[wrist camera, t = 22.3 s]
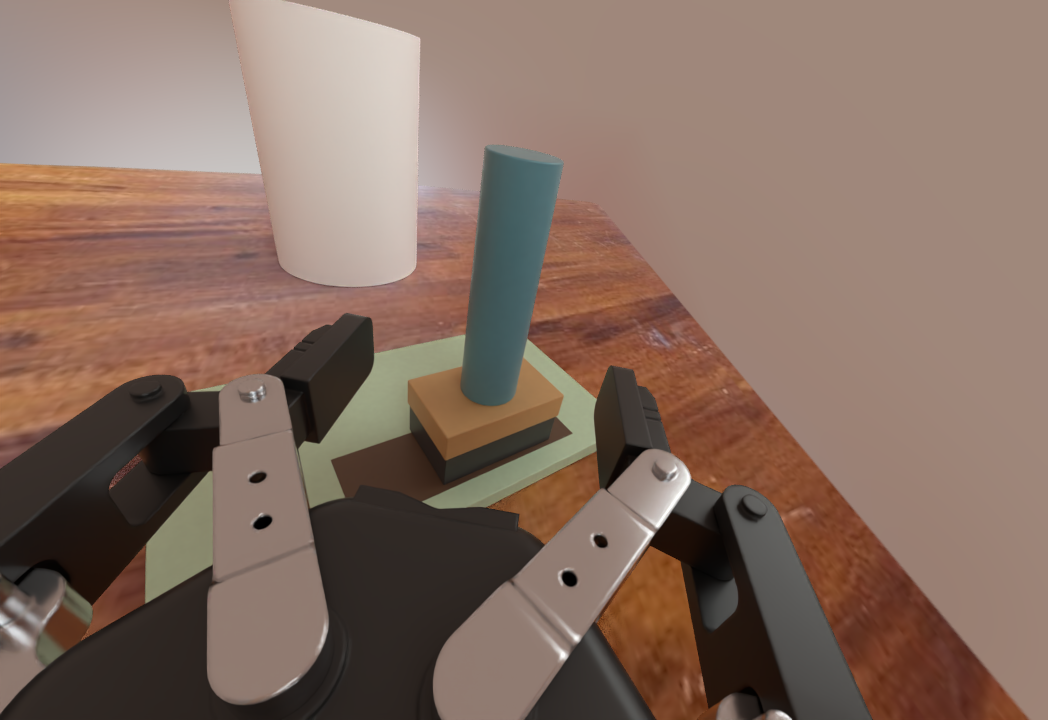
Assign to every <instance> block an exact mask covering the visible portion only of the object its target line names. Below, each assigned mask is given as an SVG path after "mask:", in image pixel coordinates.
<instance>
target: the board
mask: <svg viewBox="0 0 1048 720" xmlns="http://www.w3.org/2000/svg"><path fill="white" fill-rule="evenodd" d="M465 335H466V334H465ZM465 335H460V336H455V337H451V338H446V339H441V340H436V341H431V342H427V343H422V344H417V345H412V346H407V347H403V348H398V349H393V350H388V351H383V352H378V353H374V364H373V368H372V370H371V373H370V374H369V376H368V377H367V379H366V380H365V381H364V383H363V384H362V386H361V387H360V388H359V390H358V391H357V393H356V394H355V395H354V397H353V398H352V400H351V401H350V402H349V404H348V405H347V406H346V408H345V409H344V411H343V412H342V413H341V415H340V416H339V418H338V419H337V420H336V422H335V423H334V425H333V426H332V427H331V429H330V430H329V431H328V433H327V434H326V436H325V437H324V438H323V440H322V441H321V443H320V444H316V443H311V442H306V441H304V442H303V443H302V445H301V446H300V447H299V449H298V450H299V455H300V459H301V464H302V469H303V474H304V479H305V484H306V489H307V493H308V498H309V503H310V508H312V507H314V506H316V505H319V504H322V503H325V502H327V501H331V500H335V499H340V498H346V497H354V496H355V494H356V492H357V490H358V488H359V486H360V485H366V486H371V487H377V488H382V489H388V490H393V491H398V492H401V493H404V494H406V495H408V496H410V497H412V498H414V499H417V500H419V501H421V502H423V503H425V504H428V505H430V506H432V507H434V508H438V509H445V508H466V507H484V508H486V507H488V506H490V505H492V504H494V503H496V502H497V501H499V500H501V499H503V498H505V497H507V496H509V495H511V494H513V493H515V492H517V491H519V490H521V489H523V488H525V487H527V486H529V485H531V484H533V483H535V482H537V481H539V480H541V479H543V478H545V477H546V476H548V475H550V474H552V473H554V472H556V471H558V470H560V469H562V468H564V467H566V466H568V465H570V464H572V463H574V462H576V461H578V460H580V459H582V458H584V457H586V456H588V455H590V454H592V453H594V452H595V451H597V450H596V438H595V427H594V409H595V404H596V400H597V399H596V398H594V397H593V396H592V395H591V394H590V393H589V392H588V391H586V390H585V389H584V388H583V387H582V386H581V385H580V384H578V383H577V382H576V381H575V380H574V379H573V378H572V377H570V376H569V375H568V374H567V373H566V372H565V371H564V370H562V369H561V368H560V367H559V366H558V365H557V364H556V363H554V362H553V361H552V360H551V359H550V358H549V357H547V356H546V355H545V354H544V353H543V352H542V351H541V350H539V349H538V348H537V347H536V346H535V345H534V344H533V343H531V342H530V341H529V340H528V339H527V341H526V346H525V350H524V355H523V357H524V358H525V359H526V360H527V361H528V362H529V363H530V364H531V365H532V366H533V367H534V368H535V369H536V370H538V371H539V372H540V373H541V374H542V375H543V376H544V377H545V378H546V379H547V380H548V381H549V382H550V383H551V384H553V385H554V386H555V387H556V388H557V389H558V390H559V391H560V392H561V393H562V394H563V395H564V398H563V401H562V404H561V407H560V411H559V414H558V416H556V417H555V420H554V423H553V427H552V430H551V433H550V437H549V439H548V440H546V441H544V442H541V443H539V444H537V445H535V446H532V447H530V448H528V449H526V450H523V451H521V452H519V453H516V454H514V455H512V456H510V457H507V458H505V459H503V460H500V461H498V462H496V463H494V464H491V465H489V466H487V467H484V468H482V469H480V470H478V471H475V472H473V473H471V474H468V475H466V476H464V477H462V478H459V479H457V480H455V481H452V482H450V483H448V484H446V485H443V483H442V481H441V480H440V478H439V477H438V475H437V473H436V472H435V470H434V468H433V467H432V465H431V463H430V462H429V460H428V458H427V457H426V455H425V454H424V452H423V450H422V449H421V447H420V445H419V444H418V442H417V440H416V439H415V437H414V435H413V434H412V432H411V431H410V405H409V404H408V380H411V379H414V378H418V377H422V376H426V375H430V374H434V373H438V372H442V371H446V370H450V369H453V368H457V367H461V366H462V364H463V354H464V345H465ZM225 385H226V384H225ZM225 385H220V386H215V387H210V388H205V389H200V390H196V391H191V392H202V391H221V390H222V388H223V387H224V386H225ZM212 564H213V471H209V472H208V473H207V475H206V476H205V477H204V478H203V479H202V480H201V481H200V483H199V484H198V485H197V486H196V487H195V488H194V489H193V491H192V492H191V493H190V494H189V495H188V496H187V497H186V499H185V500H184V501H183V502H182V503H181V504H180V505H179V507H178V508H177V509H176V510H175V511H174V512H173V514H172V515H171V516H170V517H169V518H168V519H167V520H166V522H165V523H164V524H163V525H162V526H161V527H160V528H159V530H158V531H157V532H156V533H155V534H154V535H153V536H152V538H151V539H150V540H149V541H148V542H147V543H146V568H145V604H146V603H147V602H149V601H151V600H152V599H154V598H156V597H158V596H159V595H161V594H163V593H164V592H166V591H168V590H170V589H171V588H173V587H175V586H176V585H178V584H180V583H182V582H183V581H185V580H187V579H188V578H190V577H192V576H194V575H195V574H197V573H199V572H200V571H202V570H204V569H206V568H207V567H209V566H211V565H212Z"/></svg>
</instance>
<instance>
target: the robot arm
mask: <svg viewBox="0 0 1048 720" xmlns="http://www.w3.org/2000/svg"><path fill="white" fill-rule="evenodd" d="M373 364H374V342H373V325H372V320H371V318H369V317H364V316H359V315H354V314H349V313H345V314H344V315H343V316H342V317H341V318H340V319H339V320H337V321H336V322H335V323H334V324H333V325H325V326H323V327H320V328H318V329H316V330H313V331H312V332H311V333H309V334H308V335H307V336H306V337H305V338H304V339H303V340H302V342H299V343H298V344H297V345H296V346H295V347H294V350H291V351H290V352H288V353H287V354H286V355H285V356H284V357H283V358H282V359H281V360H280V361H278V362H277V363H276V364H275V365H274V366H273V367H272V368H271V369H270V370H269V371H267V372H266V373H265V374H253V375H247V376H243V377H240V378H237V379H235V380H233V381H231V382H229V383H228V384H226V385H225V386H224V387H223V388H222V390H221V391H202V392H187V390H186V388H185V385H184V383H183V381H182V380H181V379H179V378H178V377H175V376H171V375H152V376H146V377H141V378H138V379H134V380H132V381H129V382H127V383H125V384H123V385H121V386H119V387H118V388H116V389H115V390H113V391H112V392H110V393H109V394H107V395H106V396H104V397H103V398H102V399H100V400H99V401H97V402H96V403H94V404H93V405H92V406H90V407H89V408H87V409H86V410H84V411H83V412H81V413H80V414H79V415H77V416H76V417H74V418H73V419H71V420H70V421H69V422H67V423H66V424H64V425H63V426H61V427H60V428H58V429H57V430H56V431H54V432H53V433H51V434H50V435H48V436H47V437H45V438H44V439H43V440H41V441H40V442H38V443H37V444H35V445H34V446H33V447H31V448H30V449H28V450H27V451H25V452H24V453H22V454H21V455H20V456H18V457H17V458H15V459H14V460H12V461H11V462H10V463H8V464H7V465H5V466H4V467H2V468H1V469H0V720H656V719H655V717H654V715H653V714H652V712H651V710H650V709H649V707H648V706H647V704H646V702H645V701H644V699H643V698H642V696H641V694H640V693H639V691H638V690H637V688H636V686H635V685H634V683H633V681H632V680H631V678H630V677H629V675H628V673H627V672H626V670H625V669H624V667H623V665H622V664H621V662H620V660H619V659H618V657H617V656H616V654H615V652H614V651H613V649H612V648H611V646H610V644H609V643H608V641H607V640H606V638H605V636H604V635H603V633H602V631H601V630H600V628H599V627H598V625H597V623H598V621H599V620H600V618H601V617H602V615H603V614H604V612H605V611H606V609H607V608H608V606H609V605H610V603H611V602H612V600H613V599H614V597H615V596H616V595H617V593H618V592H619V590H620V589H621V587H622V586H623V584H624V583H625V581H626V580H627V578H628V577H629V576H630V574H631V573H632V571H633V570H634V568H635V567H636V565H637V564H638V563H639V561H640V560H641V558H642V557H643V555H644V554H645V552H646V551H647V549H648V548H649V547H650V546H652V547H654V548H656V549H658V550H660V551H662V552H664V553H666V554H668V555H670V556H672V557H674V558H676V559H678V560H680V561H681V566H682V571H683V577H684V582H685V587H686V592H687V598H688V603H689V608H690V613H691V619H692V624H693V629H694V634H695V640H696V645H697V650H698V655H699V661H700V666H701V671H702V676H703V682H704V687H705V692H706V697H707V703H708V708H709V709H708V710H707V711H705V712H704V713H702V714H701V715H700V716H699V717H698V718H697V720H873V719H872V717H871V715H870V713H869V710H868V708H867V706H866V704H865V702H864V699H863V697H862V695H861V693H860V691H859V688H858V686H857V684H856V682H855V680H854V677H853V675H852V673H851V671H850V669H849V666H848V664H847V662H846V660H845V658H844V655H843V653H842V651H841V649H840V647H839V644H838V642H837V640H836V638H835V636H834V633H833V631H832V629H831V627H830V625H829V622H828V620H827V618H826V616H825V614H824V611H823V609H822V607H821V605H820V603H819V600H818V598H817V596H816V594H815V592H814V589H813V587H812V585H811V583H810V581H809V578H808V576H807V574H806V572H805V570H804V567H803V565H802V563H801V561H800V559H799V556H798V554H797V552H796V550H795V548H794V545H793V543H792V541H791V539H790V537H789V534H788V532H787V530H786V528H785V526H784V523H783V521H782V519H781V517H780V515H779V513H778V511H777V509H776V508H775V507H774V505H773V504H772V503H771V502H770V501H769V500H768V499H767V498H766V497H764V496H763V495H762V494H760V493H759V492H757V491H755V490H753V489H751V488H749V487H746V486H742V485H731V486H728V487H727V488H726V489H725V490H724V492H723V493H720V492H718V491H716V490H713V489H711V488H709V487H707V486H704V485H702V484H700V483H698V482H696V481H694V480H693V479H691V475H690V472H689V470H688V468H687V467H686V465H685V464H684V463H683V462H682V461H681V460H680V459H679V458H677V457H676V456H674V455H673V454H671V451H670V447H669V444H668V441H667V437H666V434H665V431H664V427H663V424H662V422H661V417H660V414H659V412H658V407H657V404H656V400H655V398H654V397H653V396H652V394H651V393H650V392H649V391H648V389H647V388H646V387H642V386H637V382H636V378H635V374H634V371H633V370H632V369H627V368H622V367H616V366H610V367H609V368H608V370H607V373H606V376H605V378H604V381H603V384H602V386H601V389H600V392H599V395H598V397H597V400H596V404H595V409H594V427H595V438H596V450H597V461H598V473H599V484H600V490H599V491H598V492H596V494H595V495H594V496H593V497H592V498H591V499H590V500H589V501H588V502H587V503H586V504H585V505H584V506H583V507H582V508H581V509H580V510H579V511H578V512H577V513H576V514H575V515H574V516H573V517H572V518H571V519H570V520H569V521H568V522H567V523H566V524H565V525H564V526H563V527H562V528H561V530H560V531H559V532H558V533H557V534H556V535H555V536H554V537H553V538H552V539H551V540H550V541H549V542H548V543H547V544H546V545H544V544H543V543H542V542H541V541H540V540H539V539H537V538H536V537H535V536H534V535H532V534H531V533H529V532H527V531H526V530H524V529H522V528H520V527H518V521H519V514H516V513H511V512H506V511H500V510H495V509H489V508H484V507H466V508H445V509H438V508H434V507H432V506H430V505H428V504H425V503H423V502H421V501H419V500H417V499H414V498H412V497H410V496H408V495H406V494H404V493H401V492H398V491H393V490H388V489H382V488H377V487H371V486H366V485H360V486H359V488H358V490H357V492H356V494H355V496H354V497H346V498H340V499H335V500H331V501H327V502H325V503H322V504H319V505H316V506H314V507H312V508H310V503H309V498H308V493H307V489H306V484H305V479H304V474H303V469H302V464H301V459H300V455H299V450H298V449H299V447H300V446H301V445H302V443H303V442H304V441H306V442H311V443H316V444H320V443H321V441H322V440H323V438H324V437H325V436H326V434H327V433H328V431H329V430H330V429H331V427H332V426H333V425H334V423H335V422H336V420H337V419H338V418H339V416H340V415H341V413H342V412H343V411H344V409H345V408H346V406H347V405H348V404H349V402H350V401H351V400H352V398H353V397H354V395H355V394H356V393H357V391H358V390H359V388H360V387H361V386H362V384H363V383H364V381H365V380H366V379H367V377H368V376H369V374H370V373H371V370H372V368H373ZM137 454H139V456H140V458H141V459H142V461H141V462H139V463H138V464H137V465H136V466H135V467H134V468H133V469H132V470H131V471H130V472H129V473H128V474H126V475H125V476H124V477H123V478H122V479H121V480H120V481H119V482H118V483H117V484H116V485H114V486H113V487H112V488H111V489H110V490H109V485H110V482H111V480H112V479H113V477H114V476H115V474H116V473H117V472H118V471H119V470H120V469H122V468H123V467H124V466H125V465H126V464H127V463H128V462H129V461H130V460H132V459H133V458H134V457H135V456H136V455H137ZM209 471H213V564H212V565H211V566H209V567H207V568H206V569H204V570H202V571H200V572H199V573H197V574H195V575H194V576H192V577H190V578H188V579H187V580H185V581H183V582H182V583H180V584H178V585H176V586H175V587H173V588H171V589H170V590H168V591H166V592H164V593H163V594H161V595H159V596H158V597H156V598H154V599H152V600H151V601H149V602H147V603H146V604H144V605H142V606H140V607H139V608H137V609H135V610H134V611H132V612H130V613H128V614H127V615H125V616H123V617H121V618H120V619H118V620H116V621H115V622H113V623H111V624H109V625H108V626H106V627H104V628H103V629H101V630H99V631H97V632H96V633H94V634H92V635H90V636H89V637H87V638H86V639H84V640H82V641H81V639H82V637H83V636H84V634H85V633H86V631H87V630H88V628H89V626H90V623H91V620H92V615H93V611H92V607H91V606H92V605H93V604H94V603H95V602H96V600H97V599H98V598H99V597H100V596H101V595H102V594H103V592H104V591H105V590H106V589H107V588H108V587H109V586H110V584H111V583H112V582H113V581H114V580H115V579H116V578H117V576H118V575H119V574H120V573H121V572H122V571H123V570H124V568H125V567H126V566H127V565H128V564H129V563H130V562H131V560H132V559H133V558H134V557H135V556H136V555H137V554H138V552H139V551H140V550H141V549H142V548H143V547H144V546H145V544H146V543H147V542H148V541H149V540H150V539H151V538H152V536H153V535H154V534H155V533H156V532H157V531H158V530H159V528H160V527H161V526H162V525H163V524H164V523H165V522H166V520H167V519H168V518H169V517H170V516H171V515H172V514H173V512H174V511H175V510H176V509H177V508H178V507H179V505H180V504H181V503H182V502H183V501H184V500H185V499H186V497H187V496H188V495H189V494H190V493H191V492H192V491H193V489H194V488H195V487H196V486H197V485H198V484H199V483H200V481H201V480H202V479H203V478H204V477H205V476H206V475H207V473H208V472H209Z"/></svg>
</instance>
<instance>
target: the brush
mask: <svg viewBox="0 0 1048 720" xmlns="http://www.w3.org/2000/svg"><path fill="white" fill-rule="evenodd" d="M563 164H564V163H563V161H562V160H561V159H559V158H557V157H554V156H551V155H548V154H544V153H541V152H537V151H533V150H528V149H523V148H518V147H512V146H504V145H488V146H486V147H485V151H484V161H483V170H482V180H481V190H480V199H479V209H478V219H477V228H476V238H475V248H474V257H473V267H472V277H471V286H470V296H469V306H468V316H467V325H466V335H465V345H464V354H463V364H462V366H461V367H457V368H453V369H450V370H446V371H442V372H438V373H434V374H430V375H426V376H422V377H418V378H414V379H411V380H408V404H409V405H410V431H411V432H412V434H413V435H414V437H415V439H416V440H417V442H418V444H419V445H420V447H421V449H422V450H423V452H424V454H425V455H426V457H427V458H428V460H429V462H430V463H431V465H432V467H433V468H434V470H435V472H436V473H437V475H438V477H439V478H440V480H441V481H442V483H443V485H446V484H448V483H450V482H452V481H455V480H457V479H459V478H462V477H464V476H466V475H468V474H471V473H473V472H475V471H478V470H480V469H482V468H484V467H487V466H489V465H491V464H494V463H496V462H498V461H500V460H503V459H505V458H507V457H510V456H512V455H514V454H516V453H519V452H521V451H523V450H526V449H528V448H530V447H532V446H535V445H537V444H539V443H541V442H544V441H546V440H548V439H549V437H550V433H551V430H552V427H553V423H554V420H555V417H556V416H558V414H559V411H560V407H561V404H562V401H563V398H564V395H563V394H562V393H561V392H560V391H559V390H558V389H557V388H556V387H555V386H554V385H553V384H551V383H550V382H549V381H548V380H547V379H546V378H545V377H544V376H543V375H542V374H541V373H540V372H539V371H538V370H536V369H535V368H534V367H533V366H532V365H531V364H530V363H529V362H528V361H527V360H526V359H525V358H524V357H523V355H524V350H525V346H526V341H527V336H528V331H529V327H530V322H531V317H532V312H533V308H534V303H535V298H536V293H537V288H538V284H539V279H540V274H541V269H542V265H543V260H544V255H545V250H546V246H547V241H548V236H549V231H550V227H551V222H552V217H553V212H554V207H555V203H556V198H557V193H558V188H559V184H560V179H561V173H562V169H563Z"/></svg>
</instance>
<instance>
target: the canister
mask: <svg viewBox="0 0 1048 720" xmlns="http://www.w3.org/2000/svg"><path fill="white" fill-rule="evenodd" d="M228 1H229V6H230V11H231V16H232V22H233V27H234V32H235V37H236V42H237V48H238V53H239V58H240V63H241V68H242V74H243V79H244V84H245V89H246V94H247V99H248V105H249V110H250V115H251V120H252V125H253V131H254V136H255V141H256V146H257V151H258V157H259V162H260V167H261V172H262V177H263V183H264V188H265V193H266V198H267V203H268V209H269V214H270V219H271V224H272V229H273V234H274V240H275V245H276V250H277V255H278V260H279V264H280V266H281V267H282V268H283V269H284V270H285V271H286V272H288V273H289V274H291V275H293V276H295V277H297V278H300V279H303V280H306V281H309V282H313V283H318V284H323V285H330V286H341V287H366V286H376V285H383V284H388V283H392V282H395V281H398V280H401V279H403V278H405V277H407V276H409V275H410V274H411V273H412V272H413V271H414V270H415V268H416V257H417V197H418V136H419V133H418V132H419V76H420V75H419V73H420V38H419V37H416V36H414V35H412V34H409V33H406V32H403V31H400V30H397V29H393V28H390V27H387V26H383V25H380V24H376V23H373V22H369V21H365V20H361V19H358V18H354V17H350V16H346V15H342V14H339V13H334V12H331V11H326V10H322V9H318V8H314V7H309V6H305V5H301V4H297V3H292V2H287V1H283V0H228Z"/></svg>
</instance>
